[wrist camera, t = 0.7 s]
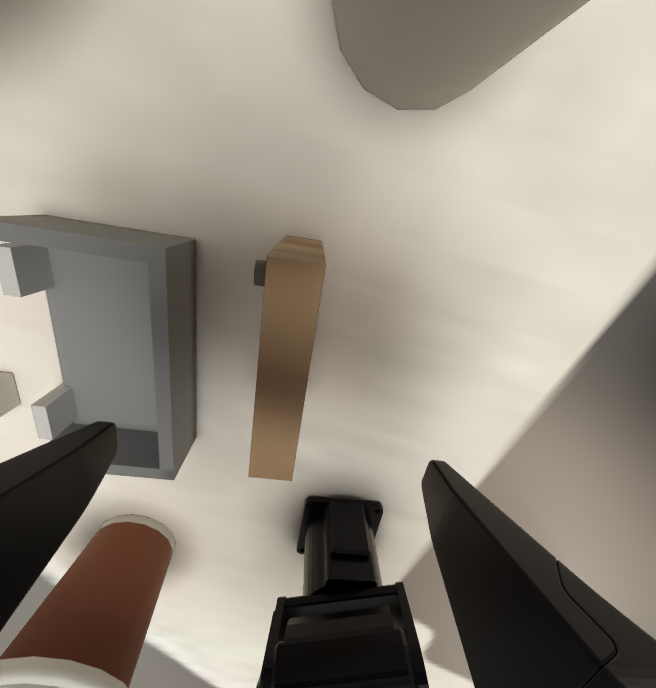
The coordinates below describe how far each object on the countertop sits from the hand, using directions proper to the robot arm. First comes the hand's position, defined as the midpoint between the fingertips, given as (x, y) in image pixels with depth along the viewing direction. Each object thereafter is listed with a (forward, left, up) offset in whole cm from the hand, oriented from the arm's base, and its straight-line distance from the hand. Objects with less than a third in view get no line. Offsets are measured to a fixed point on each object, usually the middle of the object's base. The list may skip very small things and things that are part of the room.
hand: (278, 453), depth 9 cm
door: (0, 0, -12) cm, 12 cm away
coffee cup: (-22, +11, -12) cm, 28 cm away
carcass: (-3, +13, -12) cm, 18 cm away
